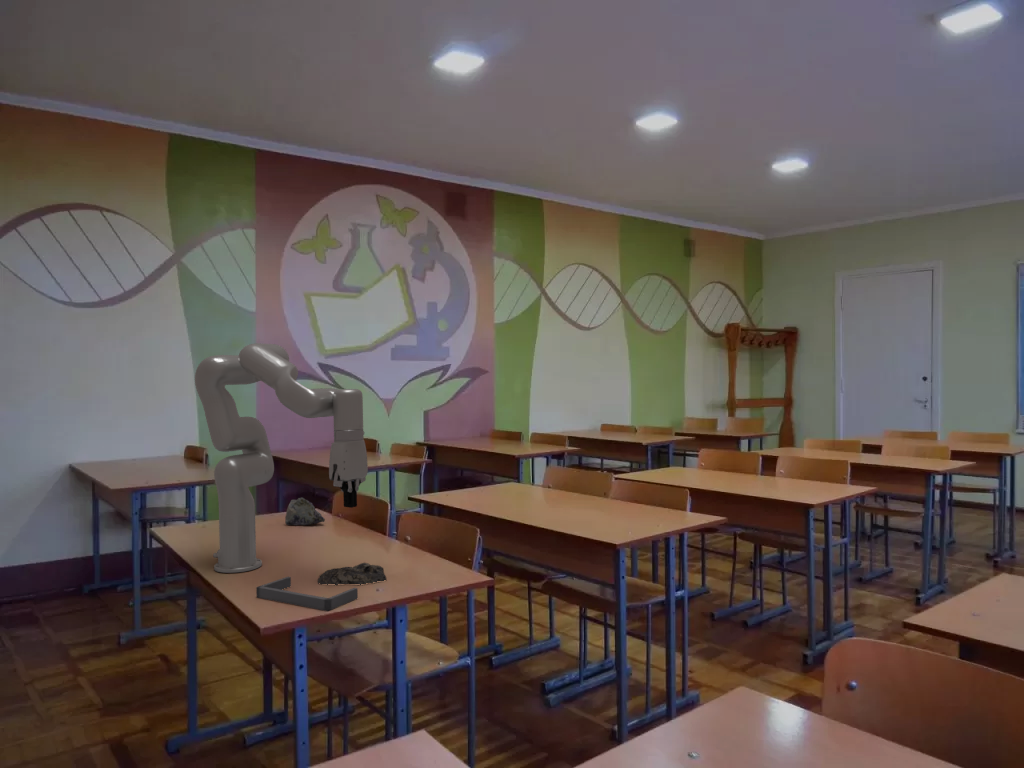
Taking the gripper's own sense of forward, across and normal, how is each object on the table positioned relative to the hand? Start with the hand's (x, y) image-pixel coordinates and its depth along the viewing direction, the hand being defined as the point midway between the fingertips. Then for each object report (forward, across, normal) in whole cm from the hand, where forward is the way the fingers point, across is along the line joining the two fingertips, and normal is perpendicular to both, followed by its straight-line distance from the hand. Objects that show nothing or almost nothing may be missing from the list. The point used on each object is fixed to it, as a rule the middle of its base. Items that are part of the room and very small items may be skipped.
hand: (350, 506), depth 188 cm
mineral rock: (+20, -44, -65) cm, 81 cm away
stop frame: (+19, +16, 0) cm, 25 cm away
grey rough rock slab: (+20, -2, -1) cm, 20 cm away
